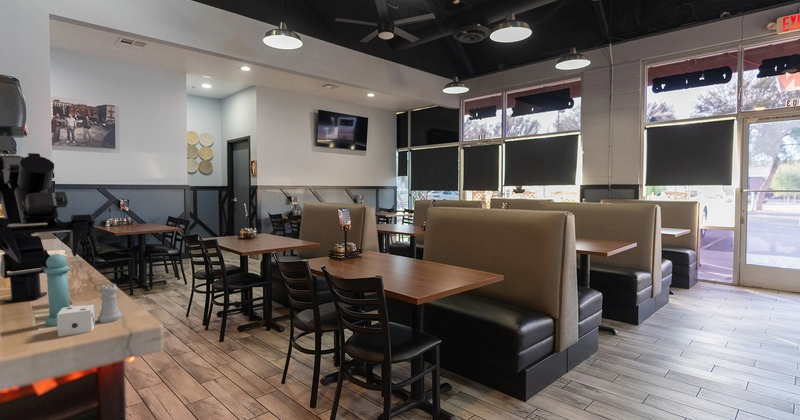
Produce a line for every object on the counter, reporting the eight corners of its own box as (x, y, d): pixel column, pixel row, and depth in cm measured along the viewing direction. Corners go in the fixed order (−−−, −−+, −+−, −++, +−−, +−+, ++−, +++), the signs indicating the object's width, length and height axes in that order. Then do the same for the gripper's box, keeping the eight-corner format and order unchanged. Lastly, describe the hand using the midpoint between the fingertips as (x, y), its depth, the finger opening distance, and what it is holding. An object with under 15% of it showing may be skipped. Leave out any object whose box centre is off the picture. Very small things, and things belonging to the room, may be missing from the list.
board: (32, 309, 97) (32, 305, 97) (70, 303, 102) (70, 299, 102) (38, 334, 80) (38, 330, 79) (84, 325, 84) (84, 322, 84)
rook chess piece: (110, 327, 83) (107, 288, 83) (91, 326, 84) (89, 287, 84) (128, 320, 87) (126, 283, 87) (111, 319, 88) (108, 282, 88)
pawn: (51, 320, 85) (47, 253, 85) (78, 318, 87) (74, 251, 86) (41, 327, 81) (36, 256, 80) (69, 324, 83) (65, 255, 82)
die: (64, 333, 81) (62, 307, 80) (96, 328, 83) (94, 303, 83) (58, 341, 76) (56, 314, 76) (92, 336, 79) (90, 309, 78)
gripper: (-23, 179, 84) (-12, 237, 77) (90, 179, 98) (107, 229, 91) (-24, 217, 89) (-14, 274, 83) (82, 212, 103) (98, 260, 97)
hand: (48, 258), depth 88 cm, fingers open, 9 cm apart
